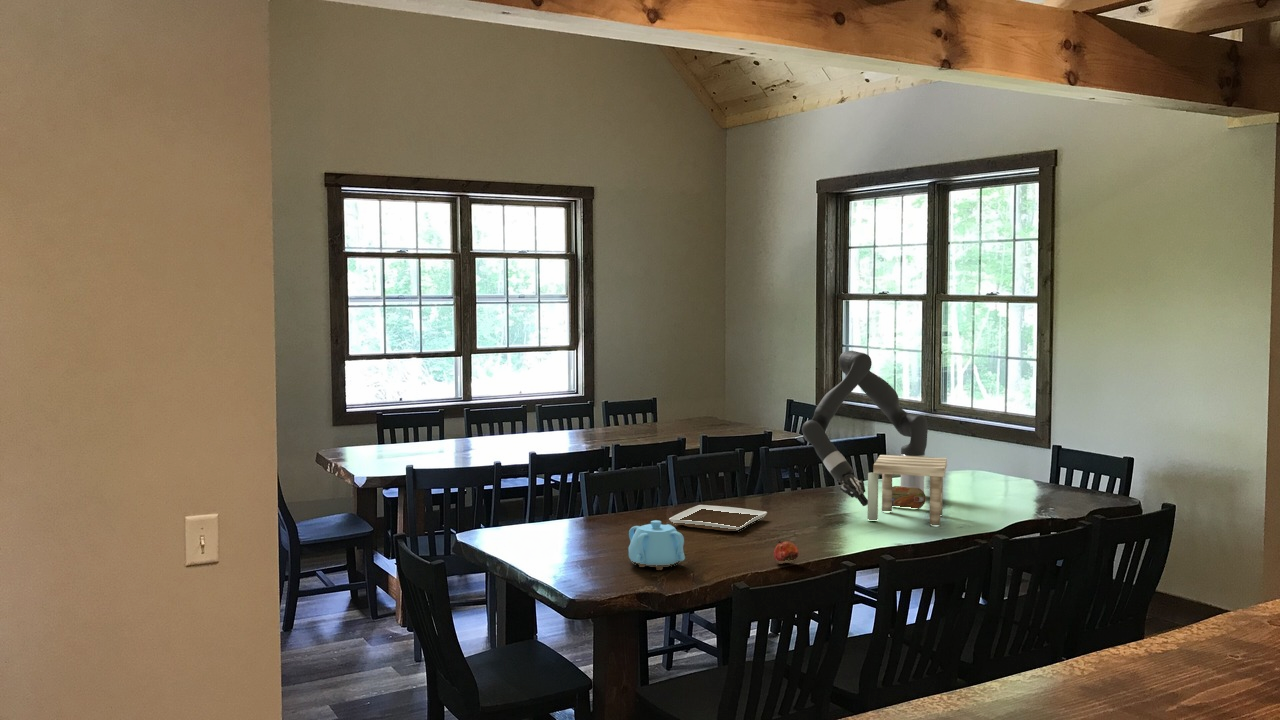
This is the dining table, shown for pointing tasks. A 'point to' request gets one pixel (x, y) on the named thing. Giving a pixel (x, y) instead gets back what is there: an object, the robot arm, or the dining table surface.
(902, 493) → the tin
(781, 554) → the pomegranate
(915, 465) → the stool
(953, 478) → the dining table surface
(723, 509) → the square plate
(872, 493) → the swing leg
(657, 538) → the decorative pot
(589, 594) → the dining table surface
